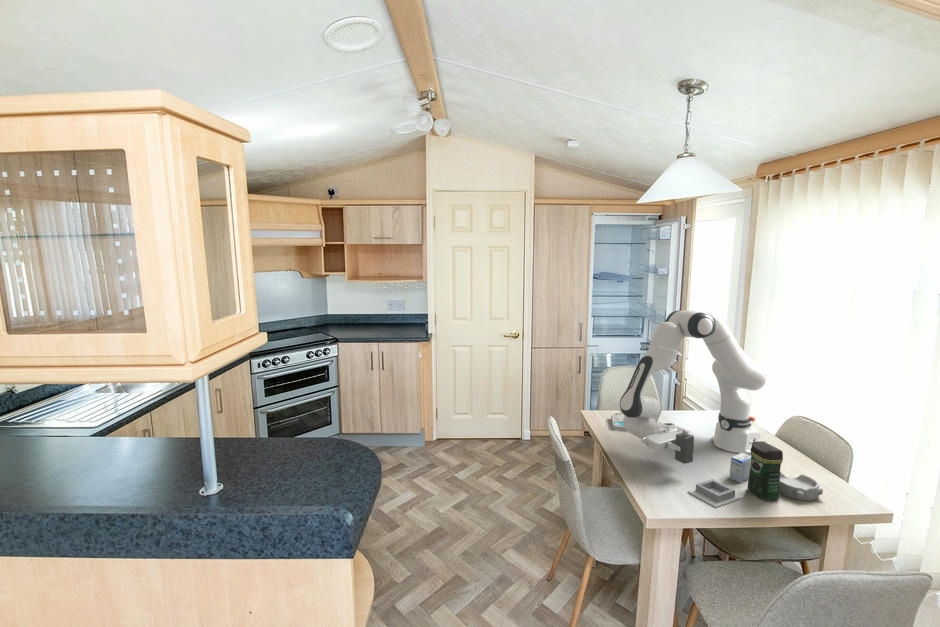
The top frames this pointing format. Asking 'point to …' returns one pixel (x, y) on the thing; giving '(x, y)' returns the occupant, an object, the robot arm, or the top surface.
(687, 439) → the plug
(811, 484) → the dish
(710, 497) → the socket plate
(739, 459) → the medicine box
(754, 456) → the coffee jar
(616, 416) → the intercom
